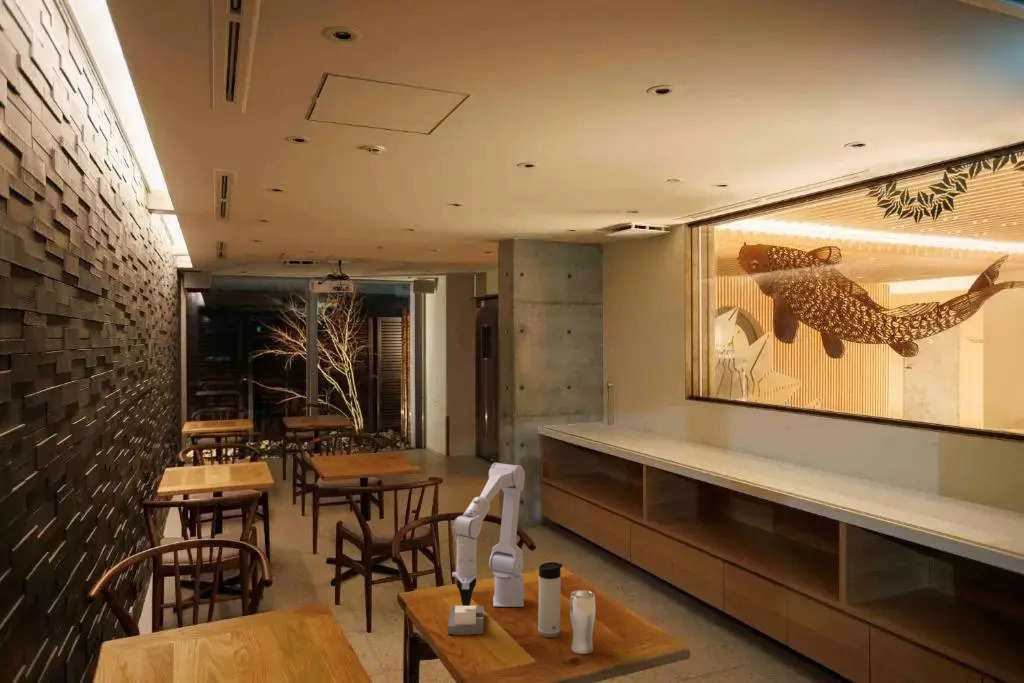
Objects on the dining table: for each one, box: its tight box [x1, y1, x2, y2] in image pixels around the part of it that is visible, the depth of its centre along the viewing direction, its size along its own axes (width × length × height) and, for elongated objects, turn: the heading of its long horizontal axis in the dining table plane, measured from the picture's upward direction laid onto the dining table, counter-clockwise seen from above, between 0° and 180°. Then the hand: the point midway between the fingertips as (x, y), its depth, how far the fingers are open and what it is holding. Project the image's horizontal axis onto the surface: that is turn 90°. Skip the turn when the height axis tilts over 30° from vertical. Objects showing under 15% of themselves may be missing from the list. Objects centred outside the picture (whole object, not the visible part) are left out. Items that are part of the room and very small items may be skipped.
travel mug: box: [537, 561, 563, 638], centre depth 201 cm, size 6×7×20 cm
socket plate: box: [447, 605, 485, 636], centre depth 206 cm, size 10×14×2 cm
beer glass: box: [569, 589, 597, 655], centre depth 191 cm, size 7×7×15 cm
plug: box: [454, 605, 483, 625], centre depth 203 cm, size 8×5×6 cm, turn 93°
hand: (466, 604), depth 203 cm, fingers closed
